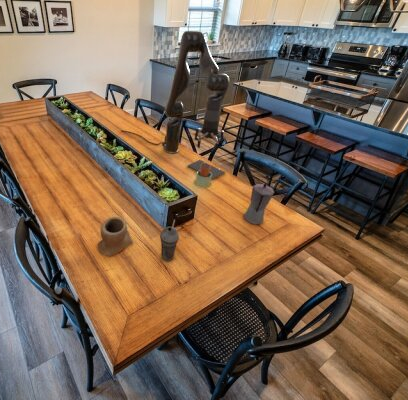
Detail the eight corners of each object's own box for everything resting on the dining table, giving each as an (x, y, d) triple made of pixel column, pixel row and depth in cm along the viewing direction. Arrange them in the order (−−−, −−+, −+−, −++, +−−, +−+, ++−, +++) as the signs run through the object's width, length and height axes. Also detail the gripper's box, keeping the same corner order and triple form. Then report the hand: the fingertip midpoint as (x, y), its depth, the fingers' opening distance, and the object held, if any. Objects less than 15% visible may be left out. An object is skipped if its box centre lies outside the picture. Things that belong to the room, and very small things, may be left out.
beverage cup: (157, 250, 112) (160, 213, 100) (175, 250, 113) (179, 213, 101) (159, 264, 106) (162, 226, 94) (177, 263, 107) (182, 226, 95)
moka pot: (264, 212, 136) (276, 179, 124) (263, 232, 125) (276, 197, 113) (245, 208, 139) (255, 175, 127) (242, 226, 127) (253, 192, 115)
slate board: (187, 167, 170) (187, 165, 169) (199, 161, 177) (199, 159, 176) (212, 180, 159) (213, 178, 158) (224, 173, 166) (225, 171, 165)
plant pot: (195, 181, 155) (198, 165, 149) (202, 178, 159) (204, 161, 152) (203, 186, 152) (206, 169, 145) (209, 182, 155) (213, 165, 149)
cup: (192, 182, 156) (193, 173, 152) (201, 177, 161) (203, 168, 157) (203, 189, 151) (205, 179, 147) (213, 183, 156) (215, 174, 152)
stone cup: (109, 264, 105) (106, 236, 96) (93, 246, 112) (90, 219, 103) (140, 246, 113) (140, 219, 104) (123, 231, 120) (122, 204, 111)
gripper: (226, 117, 134) (220, 147, 143) (198, 114, 136) (194, 144, 145) (226, 122, 128) (220, 153, 137) (196, 119, 130) (192, 149, 139)
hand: (207, 148), depth 141 cm, fingers open, 8 cm apart
